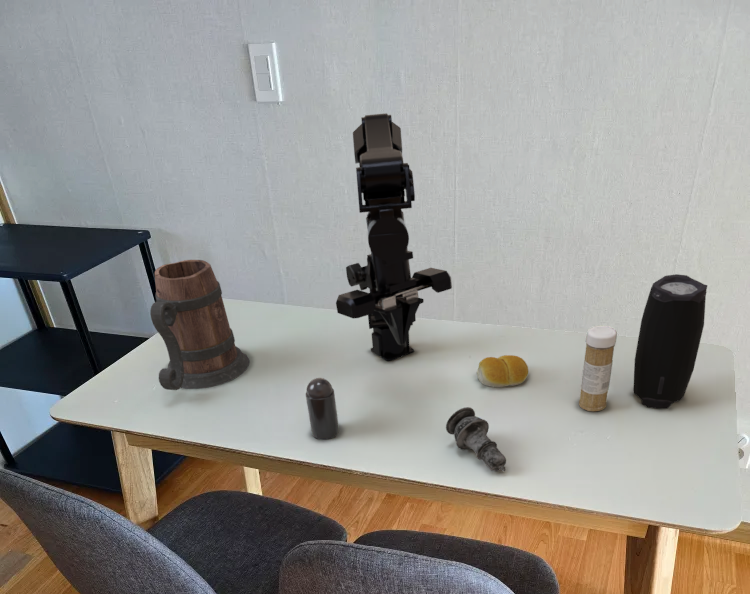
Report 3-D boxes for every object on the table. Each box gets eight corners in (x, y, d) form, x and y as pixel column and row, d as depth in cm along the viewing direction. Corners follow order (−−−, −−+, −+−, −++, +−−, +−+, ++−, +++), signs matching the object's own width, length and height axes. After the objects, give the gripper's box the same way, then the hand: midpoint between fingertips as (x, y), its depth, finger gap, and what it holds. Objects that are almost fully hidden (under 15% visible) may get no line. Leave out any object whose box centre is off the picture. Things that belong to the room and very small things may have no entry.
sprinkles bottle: (594, 396, 119) (603, 321, 110) (612, 407, 115) (624, 332, 107) (572, 403, 117) (580, 329, 109) (590, 415, 114) (600, 339, 106)
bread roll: (534, 384, 123) (535, 364, 121) (485, 392, 123) (485, 371, 120) (519, 363, 130) (520, 343, 127) (472, 370, 129) (472, 350, 127)
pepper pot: (330, 421, 119) (323, 369, 113) (344, 433, 116) (337, 380, 110) (307, 431, 117) (298, 378, 111) (320, 442, 114) (312, 389, 108)
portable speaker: (642, 379, 122) (662, 269, 110) (695, 395, 116) (723, 280, 104) (618, 400, 117) (637, 286, 105) (673, 417, 112) (699, 300, 100)
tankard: (188, 346, 147) (163, 251, 135) (262, 350, 143) (243, 252, 131) (131, 403, 130) (96, 300, 117) (213, 409, 125) (186, 302, 113)
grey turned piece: (460, 438, 112) (503, 488, 106) (437, 431, 108) (480, 482, 101) (482, 410, 110) (528, 459, 103) (460, 401, 106) (506, 452, 99)
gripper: (410, 229, 117) (420, 320, 125) (312, 255, 110) (329, 350, 118) (449, 234, 109) (457, 332, 116) (345, 263, 101) (362, 365, 109)
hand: (401, 344), depth 115 cm, fingers closed
